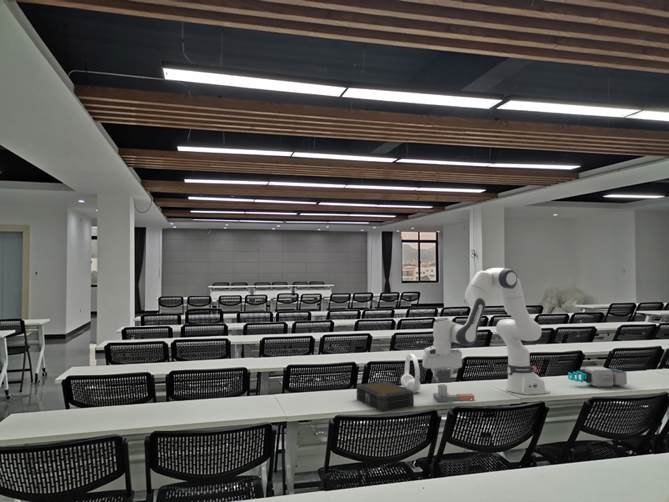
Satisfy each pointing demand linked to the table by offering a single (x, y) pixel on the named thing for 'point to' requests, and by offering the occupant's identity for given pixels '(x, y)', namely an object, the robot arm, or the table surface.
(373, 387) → the cash box
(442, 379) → the dark grey cube
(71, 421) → the table surface
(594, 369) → the toy
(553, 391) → the table surface
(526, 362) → the robot arm
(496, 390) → the table surface
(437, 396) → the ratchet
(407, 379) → the headphones
